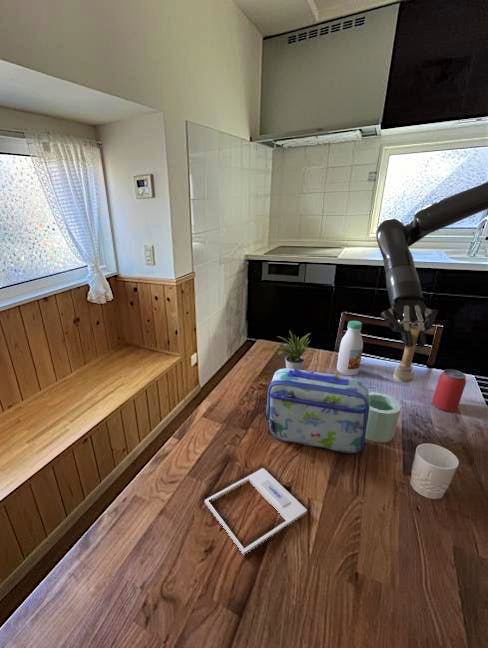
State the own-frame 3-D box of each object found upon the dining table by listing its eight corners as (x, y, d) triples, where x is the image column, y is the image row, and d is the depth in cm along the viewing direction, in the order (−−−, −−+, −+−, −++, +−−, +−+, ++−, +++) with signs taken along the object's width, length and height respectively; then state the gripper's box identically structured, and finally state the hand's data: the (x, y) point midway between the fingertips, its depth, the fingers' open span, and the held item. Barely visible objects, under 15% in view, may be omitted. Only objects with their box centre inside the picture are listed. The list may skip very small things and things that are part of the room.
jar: (397, 428, 99) (404, 400, 95) (388, 447, 92) (396, 418, 88) (360, 415, 105) (366, 388, 101) (350, 432, 98) (355, 404, 94)
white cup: (402, 488, 80) (411, 456, 76) (412, 469, 85) (421, 438, 81) (442, 508, 75) (454, 475, 71) (450, 486, 80) (462, 454, 75)
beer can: (460, 414, 103) (471, 380, 98) (435, 410, 105) (445, 377, 100) (452, 401, 108) (463, 369, 103) (428, 398, 110) (438, 367, 106)
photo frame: (307, 509, 75) (243, 552, 67) (306, 513, 75) (243, 555, 68) (263, 467, 87) (204, 499, 79) (263, 470, 87) (204, 502, 79)
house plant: (289, 359, 140) (292, 323, 133) (320, 371, 130) (325, 332, 123) (268, 371, 132) (270, 333, 125) (299, 385, 122) (302, 345, 115)
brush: (413, 377, 92) (426, 327, 86) (410, 384, 89) (423, 333, 83) (395, 372, 95) (406, 323, 88) (391, 379, 92) (403, 329, 85)
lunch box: (262, 439, 98) (264, 377, 89) (270, 417, 107) (273, 359, 98) (361, 464, 87) (375, 397, 79) (361, 437, 96) (373, 374, 87)
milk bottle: (338, 375, 127) (345, 326, 118) (335, 365, 133) (341, 318, 125) (360, 376, 125) (369, 327, 116) (356, 366, 132) (364, 319, 123)
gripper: (382, 279, 89) (393, 341, 83) (438, 278, 87) (454, 341, 81) (370, 293, 96) (380, 350, 90) (423, 292, 94) (436, 351, 88)
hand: (415, 346), depth 85 cm, fingers closed on brush, 2 cm apart
